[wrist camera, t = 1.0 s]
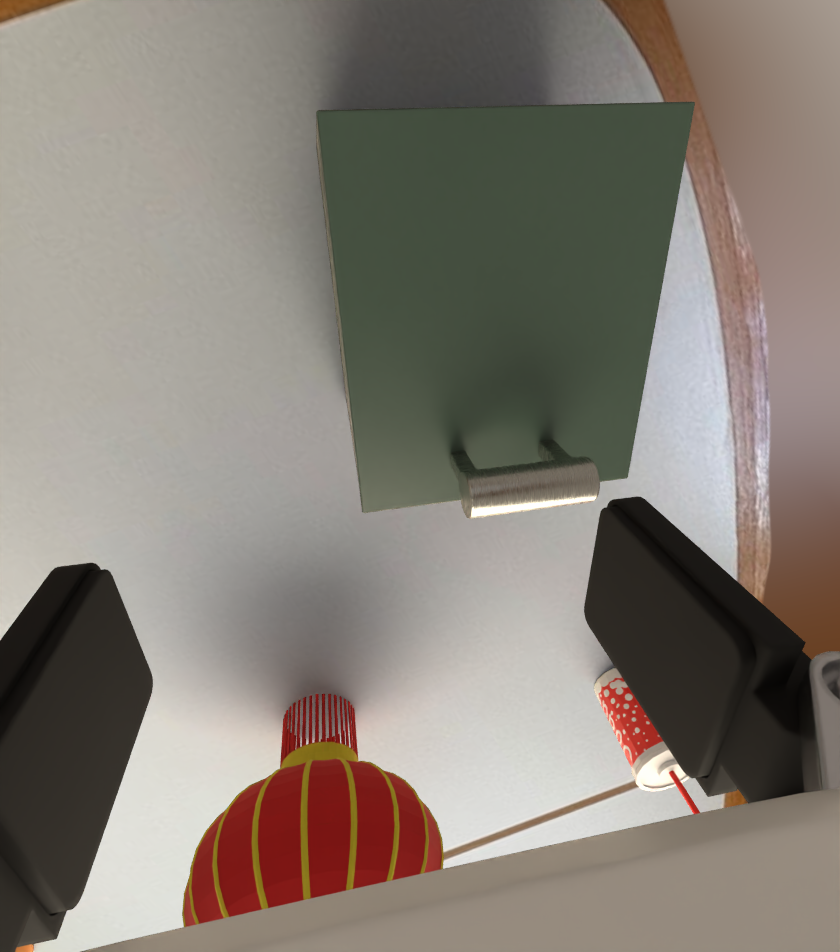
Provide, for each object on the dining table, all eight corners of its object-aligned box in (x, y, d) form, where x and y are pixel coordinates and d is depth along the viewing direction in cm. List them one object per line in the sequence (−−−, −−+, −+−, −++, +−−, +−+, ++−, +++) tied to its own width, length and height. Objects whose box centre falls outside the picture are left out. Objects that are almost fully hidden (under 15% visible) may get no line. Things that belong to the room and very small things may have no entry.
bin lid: (619, 470, 25) (680, 525, 20) (361, 504, 23) (371, 571, 19) (680, 105, 18) (794, 74, 13) (316, 114, 16) (315, 82, 12)
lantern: (239, 791, 48) (148, 1484, 22) (197, 665, 40) (-28, 1536, 14) (415, 758, 50) (520, 1346, 24) (410, 633, 42) (560, 1319, 16)
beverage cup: (593, 664, 49) (685, 818, 36) (650, 657, 50) (758, 804, 37) (581, 707, 51) (663, 862, 39) (636, 699, 52) (732, 848, 40)
